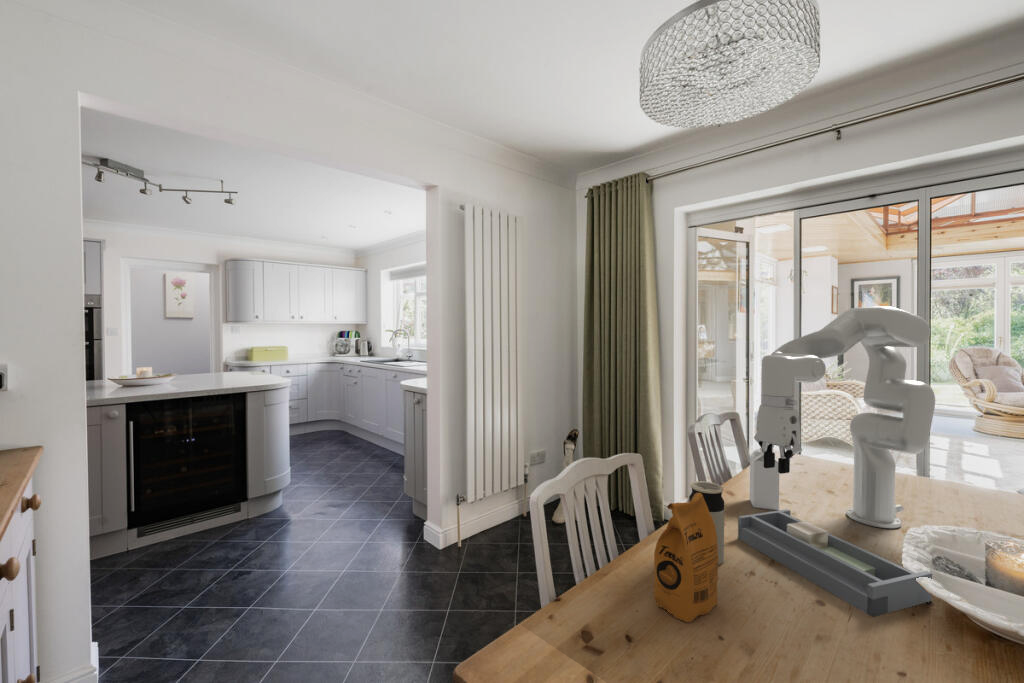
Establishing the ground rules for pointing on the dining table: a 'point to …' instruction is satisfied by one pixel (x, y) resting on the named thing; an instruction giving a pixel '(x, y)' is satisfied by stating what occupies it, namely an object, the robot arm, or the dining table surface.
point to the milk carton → (763, 482)
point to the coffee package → (687, 561)
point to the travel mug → (713, 509)
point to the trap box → (836, 565)
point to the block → (809, 533)
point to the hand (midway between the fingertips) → (776, 469)
